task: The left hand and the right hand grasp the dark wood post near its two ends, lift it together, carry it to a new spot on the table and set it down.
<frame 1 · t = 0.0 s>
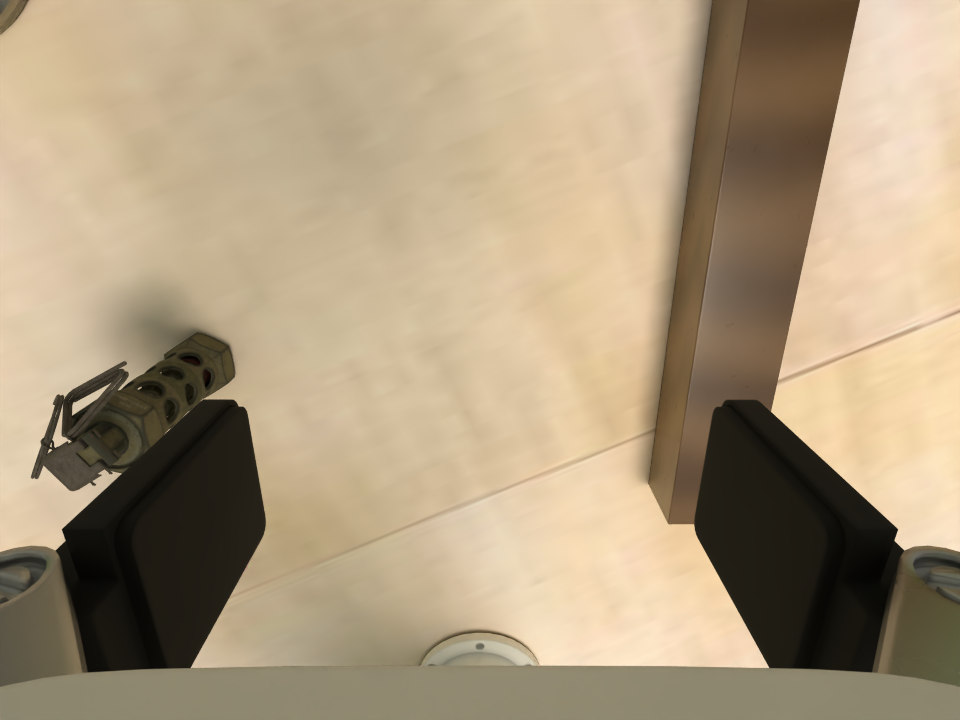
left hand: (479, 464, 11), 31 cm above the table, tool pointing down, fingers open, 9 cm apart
grenade: (190, 359, 44), on the table
post: (736, 155, 38), on the table
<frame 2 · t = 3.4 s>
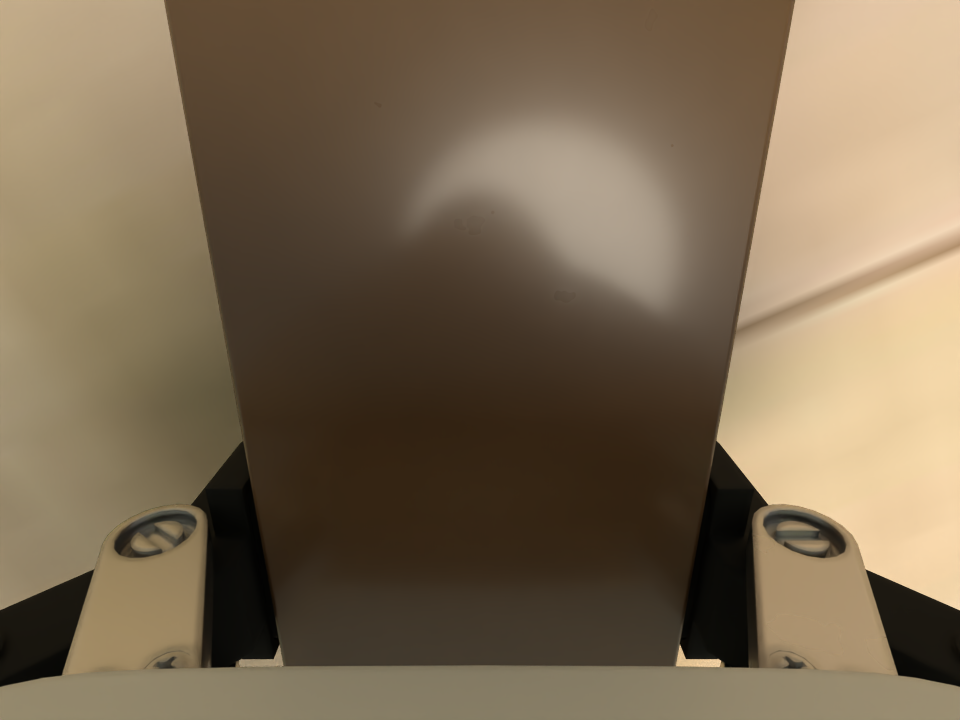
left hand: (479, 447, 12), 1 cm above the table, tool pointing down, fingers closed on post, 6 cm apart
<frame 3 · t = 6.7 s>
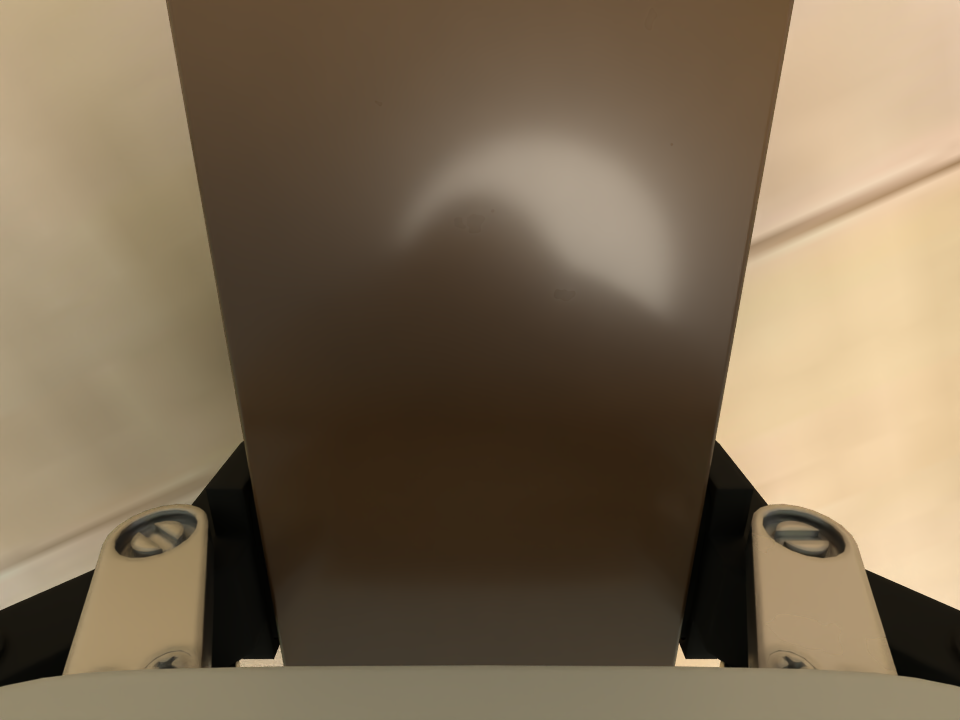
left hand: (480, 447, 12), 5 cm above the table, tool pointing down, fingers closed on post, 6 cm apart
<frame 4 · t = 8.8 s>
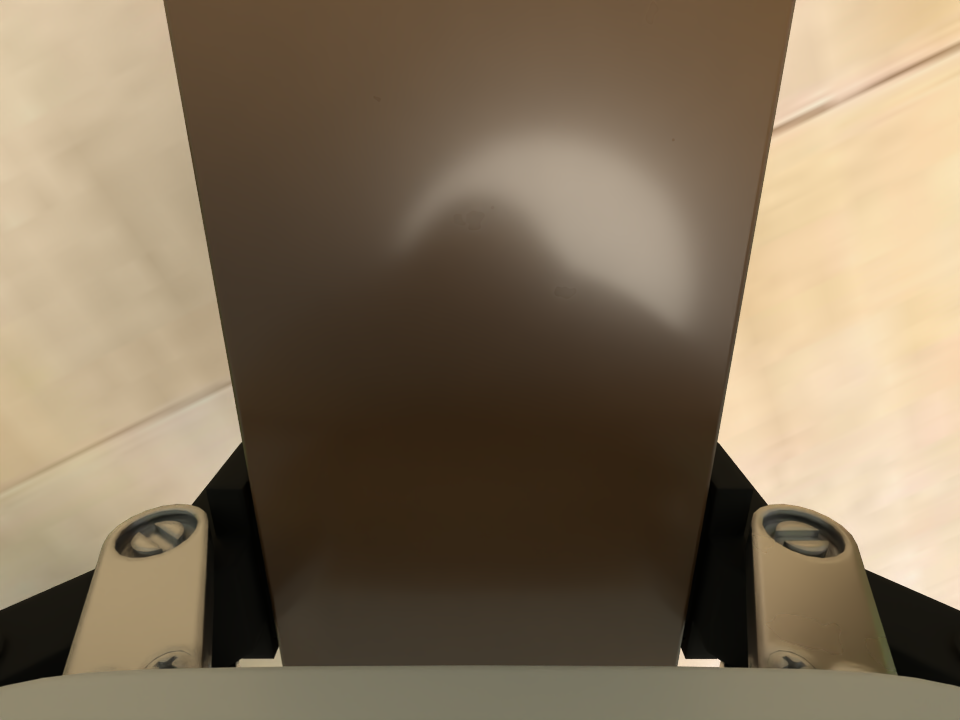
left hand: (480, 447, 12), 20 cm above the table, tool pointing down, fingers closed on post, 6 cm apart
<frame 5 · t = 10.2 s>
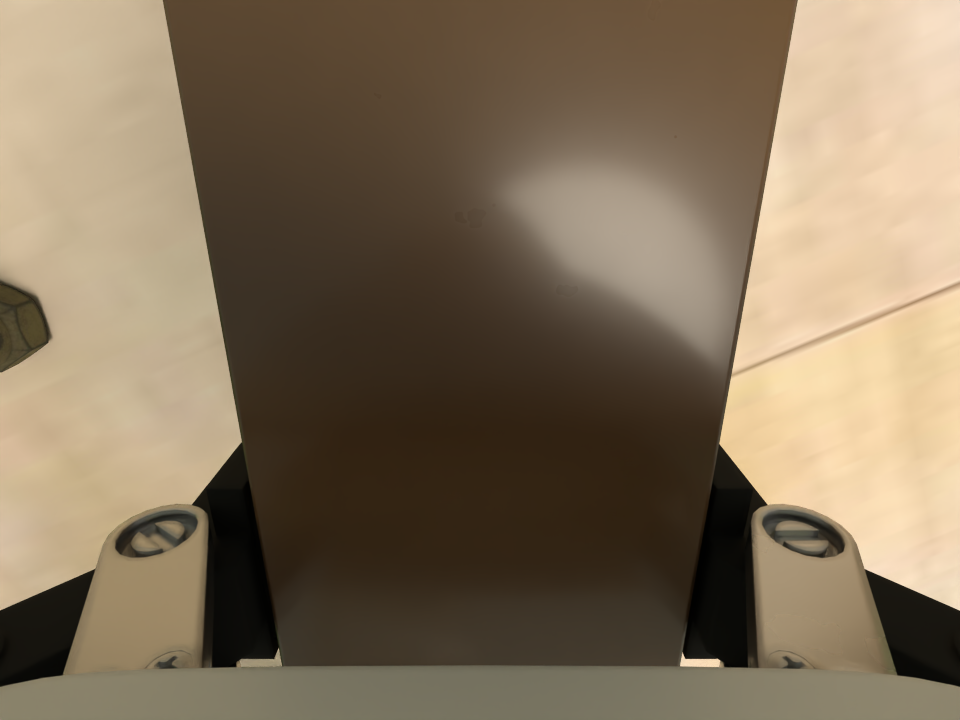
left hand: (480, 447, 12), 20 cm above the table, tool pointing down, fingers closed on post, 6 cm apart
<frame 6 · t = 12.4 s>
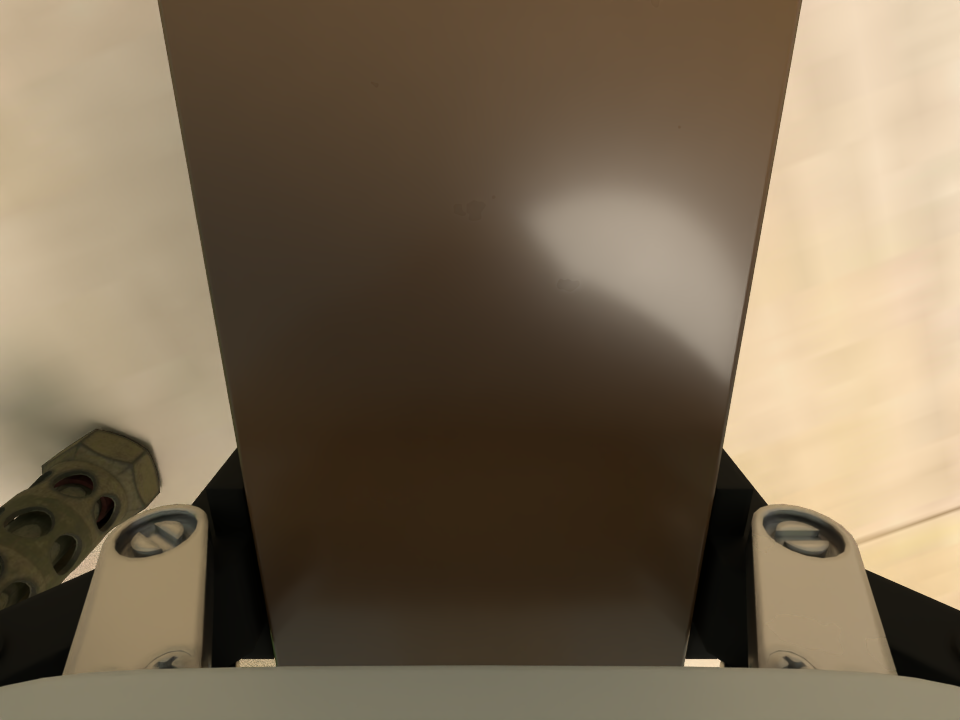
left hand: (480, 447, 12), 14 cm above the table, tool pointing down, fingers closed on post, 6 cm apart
grenade: (91, 465, 28), on the table
when the right hand's fingers open (0 cm above the table, at t = 14.1 s): post stays where it is, on the table.
when the left hand's fingers open (2 cm above the table, at t = 14.3 s): post stays where it is, on the table.
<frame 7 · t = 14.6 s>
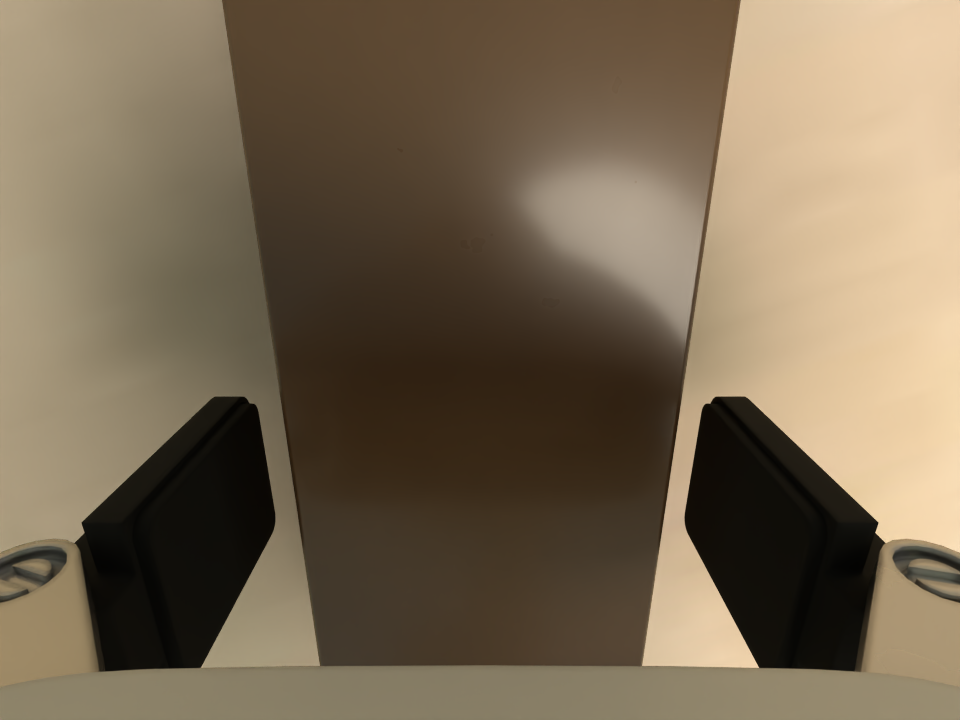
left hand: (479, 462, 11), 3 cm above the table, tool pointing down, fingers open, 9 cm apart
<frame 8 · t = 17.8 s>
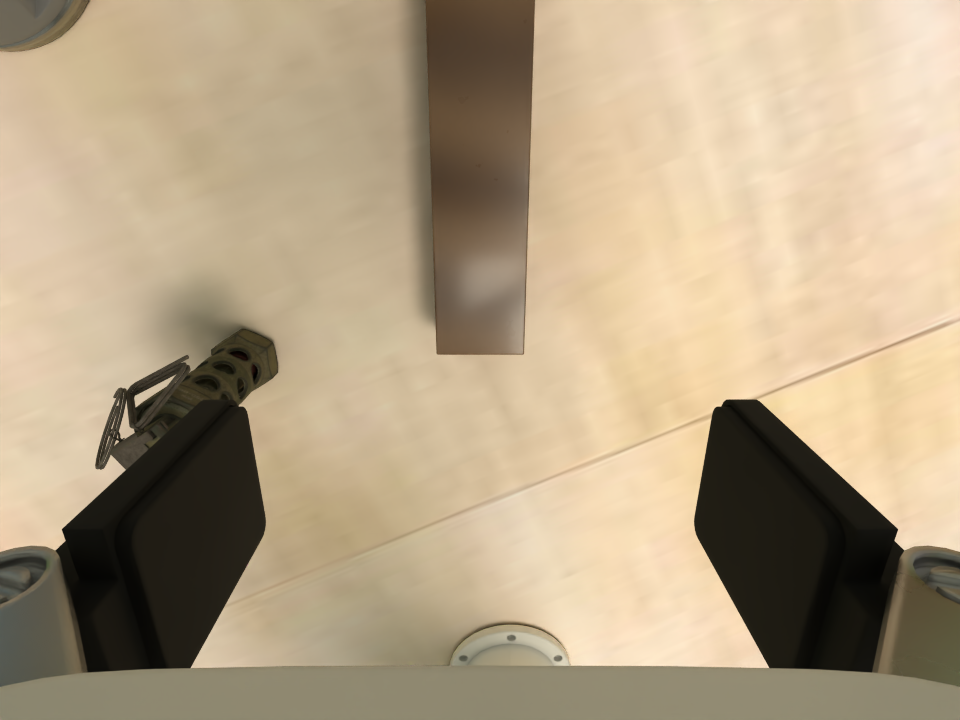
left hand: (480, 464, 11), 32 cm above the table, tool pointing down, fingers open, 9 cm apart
grenade: (235, 355, 45), on the table
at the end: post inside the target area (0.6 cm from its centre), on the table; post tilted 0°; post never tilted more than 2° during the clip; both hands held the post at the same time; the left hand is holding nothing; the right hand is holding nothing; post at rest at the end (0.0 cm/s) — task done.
